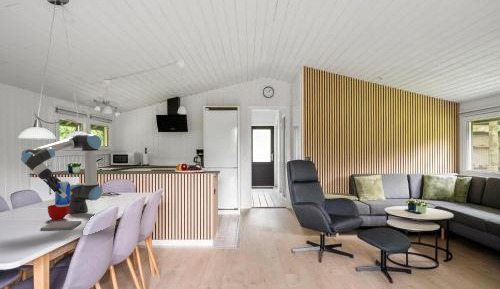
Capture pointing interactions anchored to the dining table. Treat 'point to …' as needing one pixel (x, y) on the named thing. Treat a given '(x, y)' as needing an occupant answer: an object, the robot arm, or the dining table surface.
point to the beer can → (66, 189)
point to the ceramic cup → (58, 212)
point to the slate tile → (61, 225)
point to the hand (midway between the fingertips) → (68, 195)
